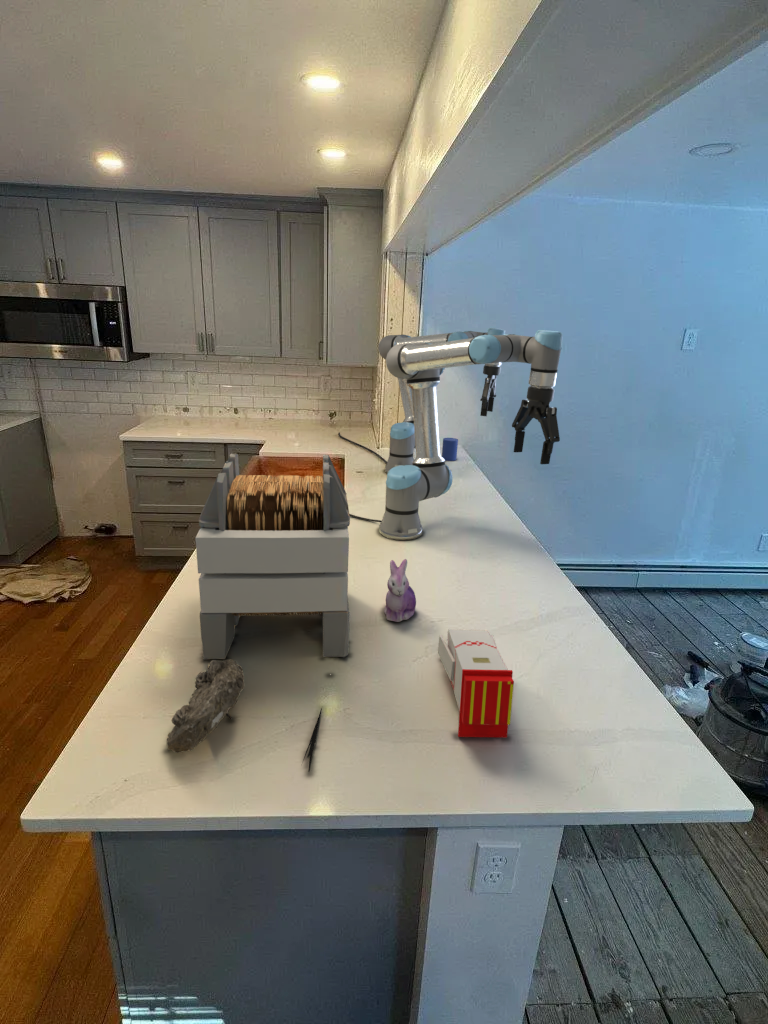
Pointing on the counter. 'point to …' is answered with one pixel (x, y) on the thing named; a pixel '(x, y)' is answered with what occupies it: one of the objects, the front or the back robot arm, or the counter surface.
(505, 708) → the toy
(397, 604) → the figurine
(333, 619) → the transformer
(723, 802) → the counter surface
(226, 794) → the counter surface
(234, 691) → the fossil
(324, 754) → the counter surface
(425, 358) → the front robot arm
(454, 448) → the cylinder
